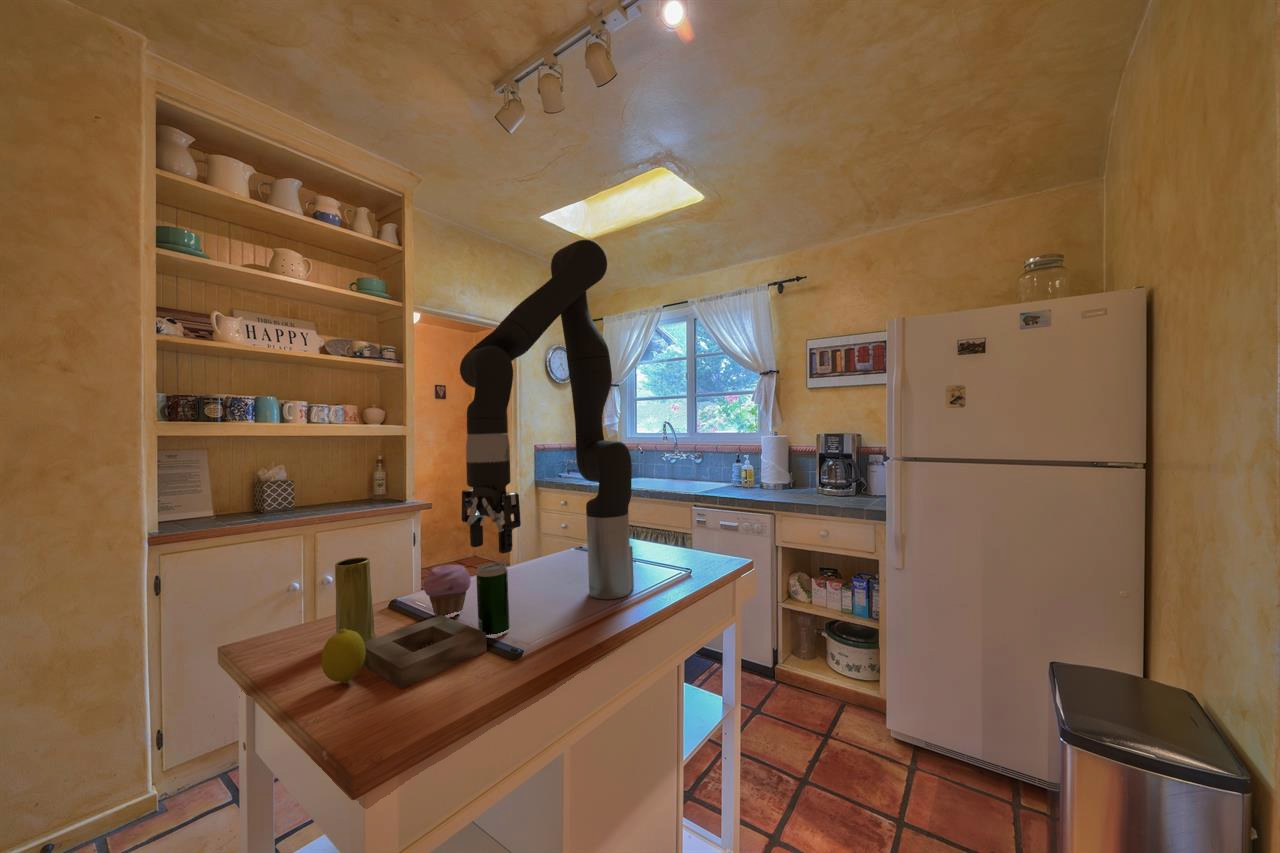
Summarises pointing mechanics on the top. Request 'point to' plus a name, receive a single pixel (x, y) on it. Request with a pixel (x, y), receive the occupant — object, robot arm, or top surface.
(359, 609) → the vase
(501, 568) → the beer can
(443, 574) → the cupcake
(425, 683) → the top surface
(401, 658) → the can holder block
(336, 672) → the lemon
